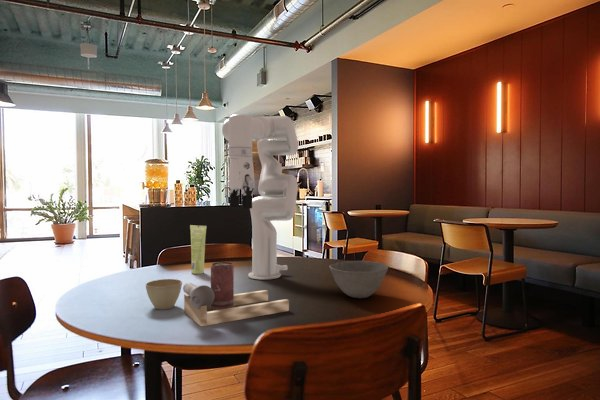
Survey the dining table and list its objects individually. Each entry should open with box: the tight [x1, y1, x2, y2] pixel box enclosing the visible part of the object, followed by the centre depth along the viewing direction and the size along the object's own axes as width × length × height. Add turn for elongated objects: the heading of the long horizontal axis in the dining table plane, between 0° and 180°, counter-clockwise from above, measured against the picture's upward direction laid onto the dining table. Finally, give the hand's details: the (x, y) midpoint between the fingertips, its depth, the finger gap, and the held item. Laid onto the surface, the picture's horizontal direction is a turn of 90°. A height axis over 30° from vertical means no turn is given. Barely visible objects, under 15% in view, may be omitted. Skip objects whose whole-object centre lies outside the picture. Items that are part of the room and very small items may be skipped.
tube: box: [189, 224, 207, 275], centre depth 167 cm, size 6×5×20 cm
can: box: [210, 261, 235, 311], centre depth 112 cm, size 6×6×14 cm
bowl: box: [328, 260, 389, 299], centre depth 132 cm, size 19×19×10 cm
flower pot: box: [145, 278, 183, 310], centre depth 119 cm, size 10×10×7 cm
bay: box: [182, 282, 290, 327], centre depth 114 cm, size 28×16×10 cm, turn 122°
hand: (240, 207), depth 131 cm, fingers open, 9 cm apart
